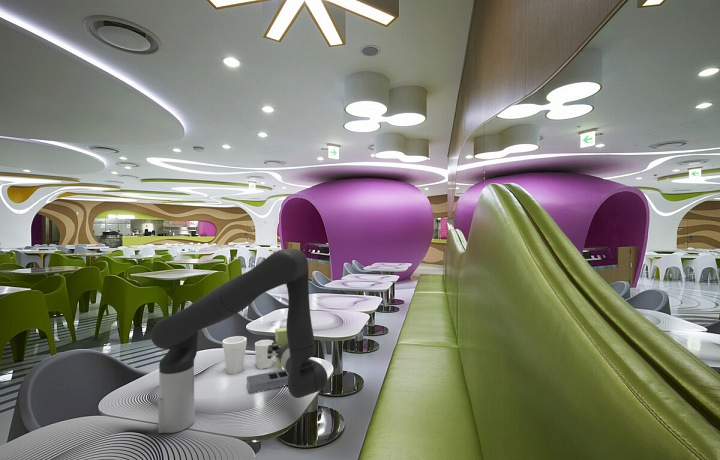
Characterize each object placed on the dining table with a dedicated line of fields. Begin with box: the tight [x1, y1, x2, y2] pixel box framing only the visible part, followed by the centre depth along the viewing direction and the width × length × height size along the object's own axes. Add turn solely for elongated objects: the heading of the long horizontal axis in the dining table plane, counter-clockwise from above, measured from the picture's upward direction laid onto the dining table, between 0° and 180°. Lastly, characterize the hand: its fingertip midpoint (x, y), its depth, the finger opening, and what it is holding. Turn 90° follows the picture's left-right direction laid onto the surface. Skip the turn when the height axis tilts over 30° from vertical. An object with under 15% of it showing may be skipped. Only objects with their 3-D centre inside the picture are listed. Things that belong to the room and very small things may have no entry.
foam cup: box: [222, 335, 248, 375], centre depth 138 cm, size 10×9×13 cm
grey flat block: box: [246, 369, 288, 395], centre depth 127 cm, size 22×8×3 cm, turn 115°
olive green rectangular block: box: [274, 327, 288, 370], centre depth 118 cm, size 5×4×13 cm
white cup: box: [254, 339, 274, 369], centre depth 144 cm, size 8×8×10 cm
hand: (282, 342), depth 120 cm, fingers closed on olive green rectangular block, 5 cm apart
